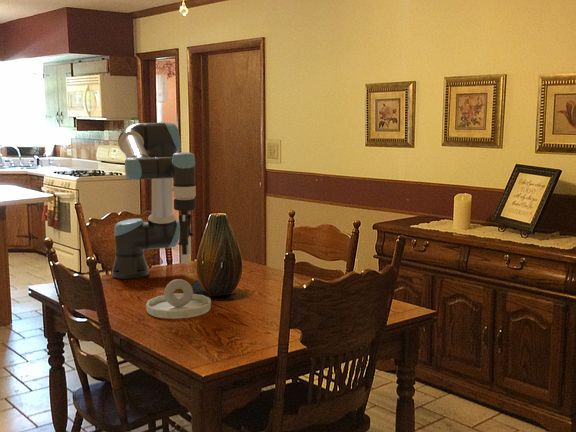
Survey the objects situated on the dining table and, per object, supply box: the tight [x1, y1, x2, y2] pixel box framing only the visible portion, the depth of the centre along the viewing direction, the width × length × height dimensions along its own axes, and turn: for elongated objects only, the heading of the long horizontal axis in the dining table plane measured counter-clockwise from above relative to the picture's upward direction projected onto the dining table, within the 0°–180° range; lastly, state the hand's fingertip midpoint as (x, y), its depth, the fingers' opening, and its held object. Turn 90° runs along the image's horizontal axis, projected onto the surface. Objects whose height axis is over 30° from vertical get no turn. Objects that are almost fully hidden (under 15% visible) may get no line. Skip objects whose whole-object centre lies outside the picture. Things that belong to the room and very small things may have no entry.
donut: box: [163, 278, 194, 307], centre depth 235 cm, size 10×3×10 cm, turn 102°
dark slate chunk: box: [191, 279, 235, 298], centre depth 262 cm, size 15×22×5 cm
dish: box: [145, 293, 212, 320], centre depth 236 cm, size 22×22×3 cm
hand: (186, 258), depth 234 cm, fingers open, 13 cm apart
